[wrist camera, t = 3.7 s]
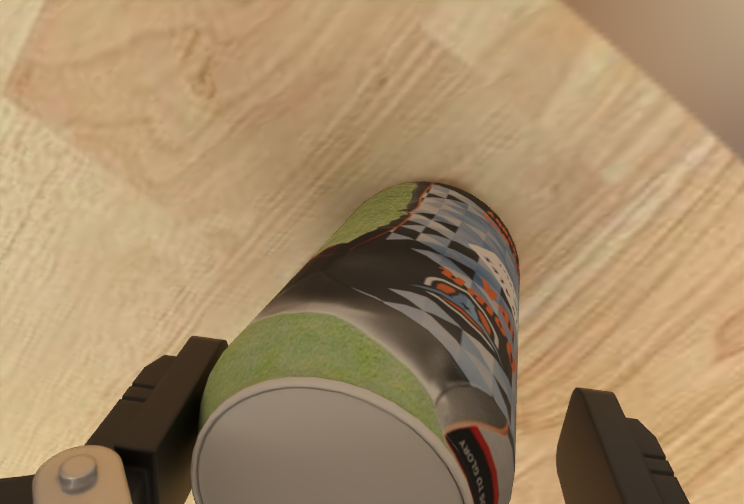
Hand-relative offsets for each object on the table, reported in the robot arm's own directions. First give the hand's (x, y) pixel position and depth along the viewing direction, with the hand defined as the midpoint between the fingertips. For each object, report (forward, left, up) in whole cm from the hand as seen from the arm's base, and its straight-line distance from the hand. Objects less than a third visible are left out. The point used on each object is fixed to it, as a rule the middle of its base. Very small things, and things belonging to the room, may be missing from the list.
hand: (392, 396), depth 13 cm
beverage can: (0, 0, -8) cm, 8 cm away
